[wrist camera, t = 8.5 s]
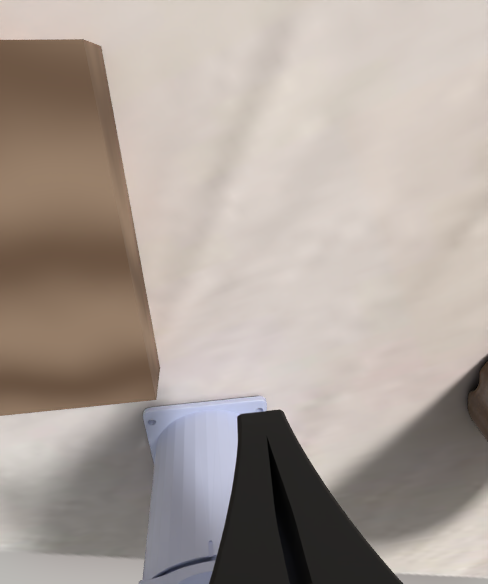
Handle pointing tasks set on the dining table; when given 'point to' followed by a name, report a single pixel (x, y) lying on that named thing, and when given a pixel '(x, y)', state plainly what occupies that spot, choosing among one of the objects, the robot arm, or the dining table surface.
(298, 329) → the dining table surface
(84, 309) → the walnut board
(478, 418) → the plant pot
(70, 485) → the dining table surface
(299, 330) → the dining table surface
